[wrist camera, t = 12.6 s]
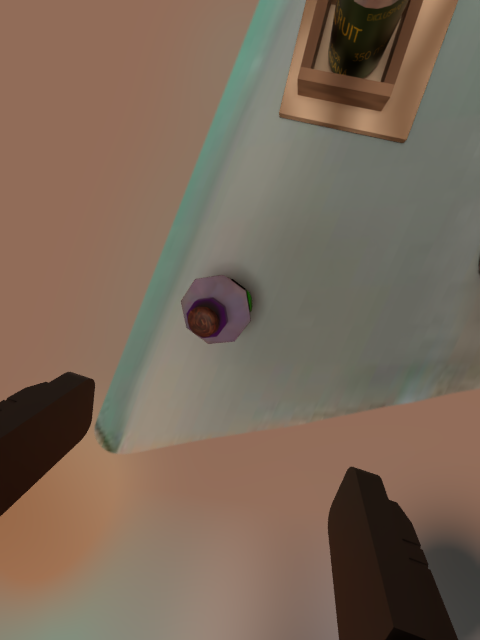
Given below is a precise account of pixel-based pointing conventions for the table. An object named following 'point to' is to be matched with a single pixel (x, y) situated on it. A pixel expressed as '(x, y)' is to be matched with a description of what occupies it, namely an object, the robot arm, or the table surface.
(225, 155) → the table surface
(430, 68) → the can caddy
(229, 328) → the potion bottle
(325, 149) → the table surface
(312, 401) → the table surface
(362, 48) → the beer can
